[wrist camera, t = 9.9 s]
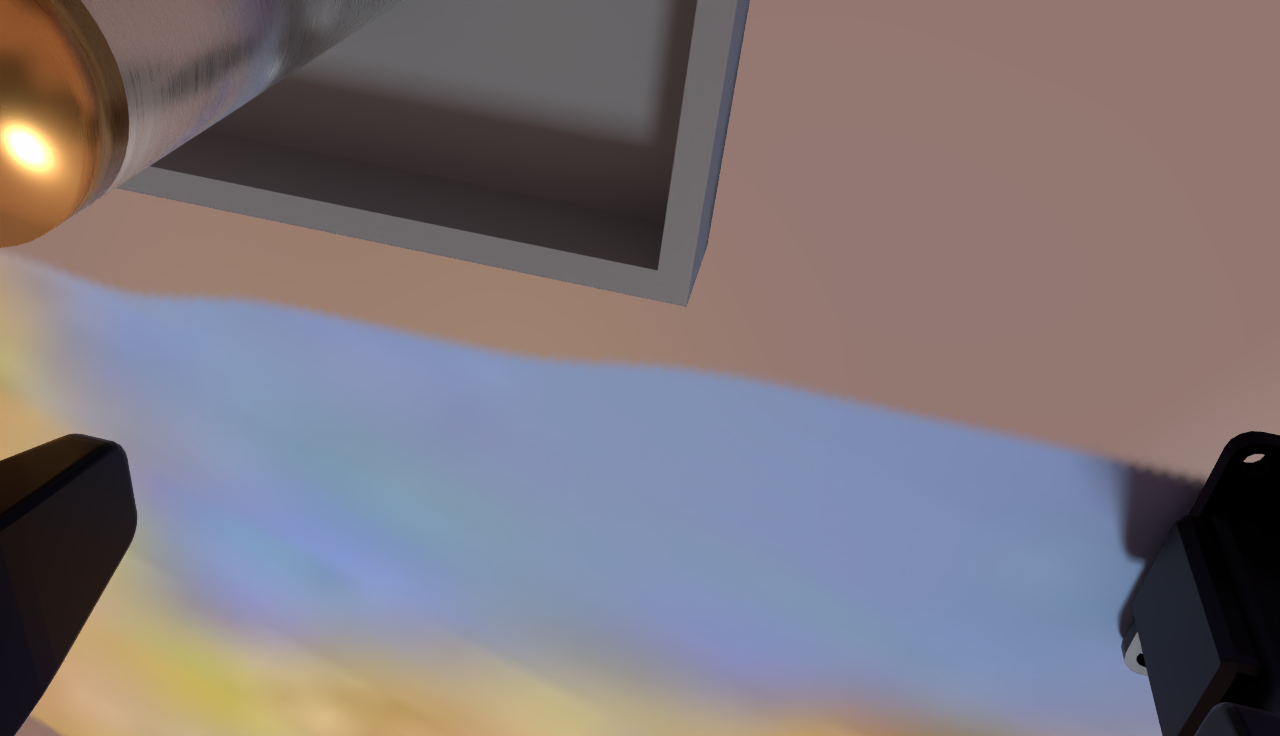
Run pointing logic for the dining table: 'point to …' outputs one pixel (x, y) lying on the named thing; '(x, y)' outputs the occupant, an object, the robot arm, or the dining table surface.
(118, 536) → the robot arm
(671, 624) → the dining table surface
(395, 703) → the dining table surface
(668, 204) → the tray
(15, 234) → the pin
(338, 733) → the dining table surface
